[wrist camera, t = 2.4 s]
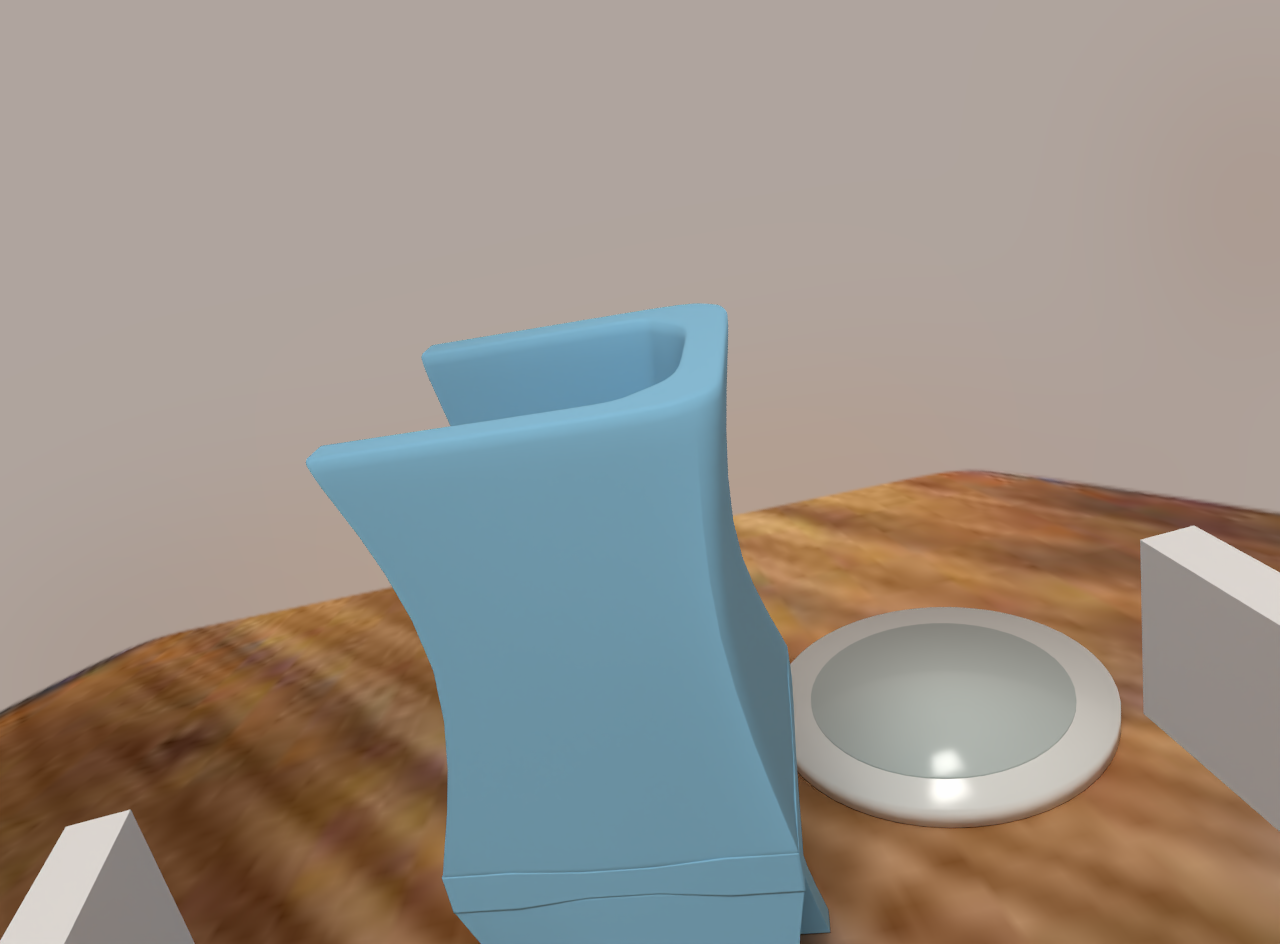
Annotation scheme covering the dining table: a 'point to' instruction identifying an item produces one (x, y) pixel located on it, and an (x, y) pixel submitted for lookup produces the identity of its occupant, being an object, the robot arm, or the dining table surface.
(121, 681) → the dining table surface
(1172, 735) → the robot arm
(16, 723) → the dining table surface
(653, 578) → the vase
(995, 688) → the plate
